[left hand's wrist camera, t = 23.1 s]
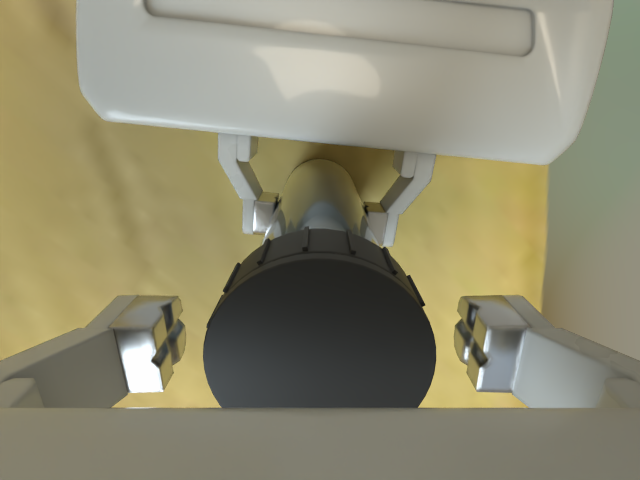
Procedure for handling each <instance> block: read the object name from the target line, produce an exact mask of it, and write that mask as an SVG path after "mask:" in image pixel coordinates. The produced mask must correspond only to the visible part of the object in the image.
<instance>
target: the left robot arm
mask: <svg viewBox="0 0 640 480" xmlns="http://www.w3.org/2000/svg"><path fill="white" fill-rule="evenodd" d="M182 311H183V309H182V304H181V300H180V298H179V297H178V296H152V295H121V296H117V297H116V298H115V299H114V300H113V301H112V302H111V303H110V304H109V305H108V306H107V307H106V308H105V309H104V310H103V311H102V312H101V313H100V314H99V315H98V316H97V317H96V318H94V319H93V320H92V321H91V322H90V323H89V324H88V325H87V326H86V327H85V328H77V329H75V330H73V331H70V332H68V333H65V334H63V335H61V336H58V337H56V338H54V339H51V340H49V341H46V342H44V343H42V344H39V345H37V346H34V347H32V348H30V349H27V350H25V351H22V352H20V353H18V354H15V355H13V356H11V357H8V358H6V359H3V360H1V361H0V480H640V361H639V360H636V359H634V358H632V357H629V356H627V355H625V354H622V353H620V352H617V351H615V350H613V349H610V348H608V347H605V346H603V345H601V344H598V343H596V342H594V341H591V340H589V339H586V338H584V337H582V336H579V335H577V334H575V333H572V332H570V331H567V330H565V329H563V328H555V327H554V326H553V325H552V324H551V323H550V322H549V321H548V320H547V319H546V318H544V316H542V315H541V314H540V313H539V312H538V311H537V310H536V309H535V308H534V307H533V306H532V305H531V304H530V303H529V302H528V301H527V300H526V299H525V298H524V297H523V296H520V295H491V296H463V297H461V298H460V300H459V303H458V309H457V311H458V313H459V315H460V316H461V318H462V319H461V320H460V321H459V322H458V323H457V324H456V325H455V330H454V345H455V350H456V353H457V355H458V357H459V359H460V361H461V362H463V363H464V364H466V365H467V366H468V367H467V375H468V376H469V378H470V380H471V382H472V384H473V386H474V387H475V389H476V391H477V392H504V393H512V395H514V396H515V397H516V398H518V399H519V400H520V401H521V402H523V403H524V404H525V405H527V406H528V407H529V408H111V407H112V406H114V405H115V404H116V403H117V402H119V401H120V400H121V399H123V398H124V397H125V396H127V395H128V393H136V392H163V391H164V389H165V388H166V386H167V384H168V382H169V380H170V378H171V376H172V375H173V367H172V366H173V365H174V364H176V363H177V362H179V361H180V359H181V357H182V355H183V353H184V349H185V345H186V330H185V325H184V324H183V323H182V322H181V321H180V320H179V319H178V318H179V316H180V315H181V313H182Z"/></svg>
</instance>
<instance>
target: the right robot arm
mask: <svg viewBox="0 0 640 480" xmlns="http://www.w3.org/2000/svg"><path fill="white" fill-rule="evenodd" d="M613 2H614V0H76V52H77V71H78V80H79V87H80V91H81V93H82V95H83V96H84V98H85V99H86V100H87V102H88V103H89V104H90V105H91V107H92V108H93V109H94V111H95V112H96V113H97V114H98V115H99V116H100V118H102V119H103V120H105V121H109V122H118V123H128V124H137V125H147V126H157V127H167V128H177V129H187V130H197V131H207V132H217V133H218V160H219V162H220V164H221V166H222V167H223V169H224V171H225V173H226V174H227V176H228V178H229V180H230V181H231V183H232V185H233V187H234V189H235V190H236V192H237V194H238V196H239V197H240V199H243V224H242V230H243V233H245V234H252V235H254V234H257V235H265V233H266V231H267V228H268V226H269V224H270V221H271V219H272V216H273V214H274V211H275V209H276V207H277V204H278V200H279V193H270V192H262V191H263V190H262V188H261V186H260V184H259V182H258V180H257V178H256V176H255V174H254V172H253V170H252V168H251V166H250V164H249V162H248V161H249V160H250V159H251V158H253V157H254V156H255V155H256V154H257V153H258V137H267V138H277V139H287V140H297V141H307V142H317V143H326V144H336V145H346V146H356V147H366V148H376V149H386V150H395V152H394V159H393V165H392V167H393V168H394V169H395V170H396V171H397V172H398V173H399V174H400V176H399V177H398V179H397V180H396V181H395V183H394V184H393V185H392V187H391V188H390V189H389V190H388V192H387V193H386V194H385V196H384V197H383V198H382V200H381V201H380V203H376V202H364V204H363V207H364V210H365V212H366V215H367V217H368V220H369V222H370V224H371V227H372V229H373V232H374V234H375V237H376V239H377V242H378V244H379V246H385V247H392V246H393V244H394V240H395V235H396V229H397V224H398V218H399V214H403V212H404V211H405V210H406V209H407V208H408V207H409V205H410V204H411V203H412V202H413V201H414V200H415V199H416V197H417V196H418V195H419V194H420V193H421V192H422V190H423V189H424V188H425V187H426V186H427V185H428V184H429V182H430V181H431V178H432V173H433V168H434V164H435V159H436V155H446V156H456V157H466V158H476V159H486V160H496V161H505V162H515V163H525V164H536V165H547V164H550V163H551V162H552V161H554V160H555V159H556V158H557V157H559V156H560V155H561V154H562V153H563V152H564V151H566V150H567V149H568V148H569V147H570V146H571V145H572V144H573V143H574V142H575V140H576V138H577V137H578V135H579V133H580V130H581V128H582V125H583V122H584V120H585V117H586V114H587V111H588V108H589V104H590V101H591V98H592V95H593V91H594V88H595V84H596V81H597V77H598V74H599V70H600V66H601V62H602V58H603V55H604V51H605V46H606V42H607V37H608V33H609V28H610V23H611V18H612V11H613Z"/></svg>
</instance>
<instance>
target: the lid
mask: <svg viewBox="0 0 640 480" xmlns="http://www.w3.org/2000/svg"><path fill="white" fill-rule="evenodd" d="M223 292H224V294H223V295H222V296H221V298H220V300H219V302H218V304H217V306H216V308H215V310H214V312H213V314H212V316H211V318H210V319H209V321H208V323H207V328H208V329H207V331H206V336H205V341H204V348H203V361H204V370H205V374H206V377H207V381H208V384H209V386H210V388H211V391H212V393H213V395H214V397H215V398H216V400H217V401H218V403H219V405H220V406H221V407H222V408H418V406H419V405H420V403H421V402H422V400H423V399H424V397H425V396H426V394H427V391H428V389H429V387H430V385H431V382H432V379H433V375H434V371H435V364H436V344H435V339H434V334H433V331H432V328H431V325H430V322H429V320H428V318H427V316H426V314H425V312H424V310H423V308H422V307H423V306H425V303H424V301H423V299H422V298H421V296H420V294H419V292H418V290H417V288H416V286H415V284H414V282H413V280H412V278H411V276H410V275H408V276H406V274H405V272H404V271H403V270H402V268H401V267H400V265H399V264H398V263H397V262H396V261H395V260H394V259H393V258H392V257H391V255H390V253H389V251H388V249H387V248H386V247H383V248H381V247H379V246H378V245H376V244H374V243H373V242H371V241H369V240H367V239H365V238H363V237H360V236H358V235H355V234H352V231H351V230H349V229H347V231H346V232H344V231H340V230H332V229H309V226H307V227H305V228H304V230H300V231H295V232H291V233H287V234H285V235H282V236H279V237H277V238H274V239H272V240H271V241H270V239H269V238H268V239H266V240H265V242H264V244H263V245H262V246H260V247H259V248H258V249H256V250H255V251H253V252H252V253H251V254H250V255H249V256H248V257H247V258H246V259H245V260H244V261H243V262H242V264H240V263H237V265H236V266H235V268H234V270H233V272H232V274H231V276H230V278H229V280H228V282H227V284H226V286H225V288H224V289H223Z"/></svg>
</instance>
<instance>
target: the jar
mask: <svg viewBox="0 0 640 480" xmlns="http://www.w3.org/2000/svg"><path fill="white" fill-rule="evenodd" d="M307 226H309V229H332V230H340V231H344V232H346V231H347V229H349V230H351V231H352V234H355V235H358V236H360V237H363V238H365V239H367V240H369V241H371V242H373V243H374V244H376V245H378V246H379V244H378V242H377V239H376V237H375V234H374V232H373V229H372V227H371V224H370V222H369V220H368V217H367V215H366V212H365V210H364V207H363V205H362V202H361V200H360V198H359V195H358V193H357V190H356V188H355V185H354V183H353V180H352V178H351V176H350V175H349V173H348V172H347V171H346V170H345V169H344V168H343V167H342V166H340V165H339V164H337V163H335V162H333V161H330V160H325V159H315V160H310V161H307V162H305V163H303V164H301V165H299V166H298V167H297V168H296V169H295V170H294V171H293V172H292V173H291V175H290V176H289V178H288V180H287V182H286V185H285V187H284V190H283V192H282V194H281V197H280V199H279V202H278V204H277V207H276V209H275V211H274V214H273V216H272V219H271V221H270V224H269V226H268V228H267V231H266V233H265V236H264V238H263V241H262V243H261V245H260V246H262V245H263V244H264V242H265V240H266V239H268V238H269V239H270V241H271V240H272V239H274V238H277V237H279V236H282V235H285V234H287V233H291V232H295V231H300V230H304V228H305V227H307Z"/></svg>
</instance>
